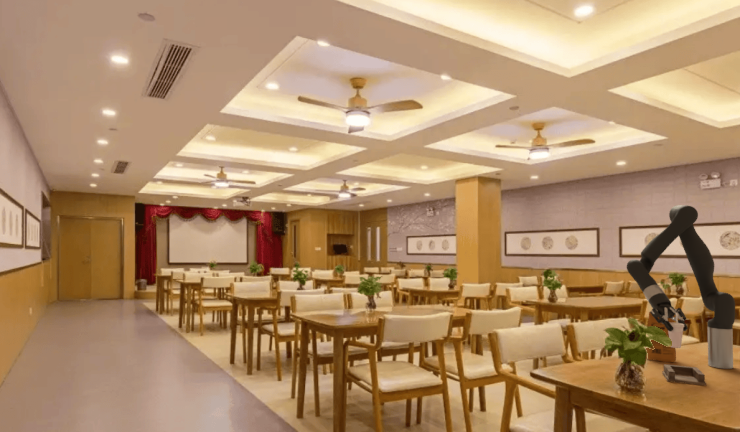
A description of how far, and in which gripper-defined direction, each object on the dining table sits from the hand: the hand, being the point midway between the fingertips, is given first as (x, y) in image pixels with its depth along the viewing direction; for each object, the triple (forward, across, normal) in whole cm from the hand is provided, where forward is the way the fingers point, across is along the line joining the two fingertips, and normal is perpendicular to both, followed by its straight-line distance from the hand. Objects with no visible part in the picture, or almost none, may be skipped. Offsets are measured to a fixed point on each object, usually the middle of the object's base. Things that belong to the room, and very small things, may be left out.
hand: (678, 329), depth 207 cm
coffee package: (-5, +16, +33) cm, 37 cm away
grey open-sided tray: (+16, -1, +11) cm, 19 cm away
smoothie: (+4, 0, +7) cm, 8 cm away
